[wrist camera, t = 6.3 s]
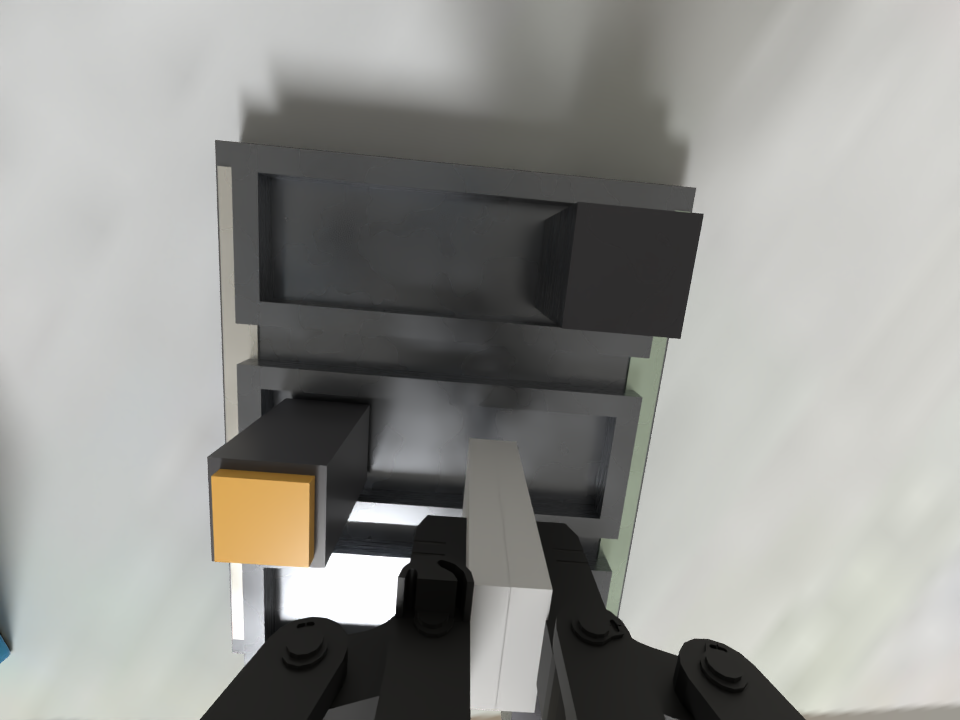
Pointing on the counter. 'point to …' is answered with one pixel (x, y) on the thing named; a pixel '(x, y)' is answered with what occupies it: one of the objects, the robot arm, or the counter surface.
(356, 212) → the panel
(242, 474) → the handle
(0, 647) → the ink box
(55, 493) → the counter surface
